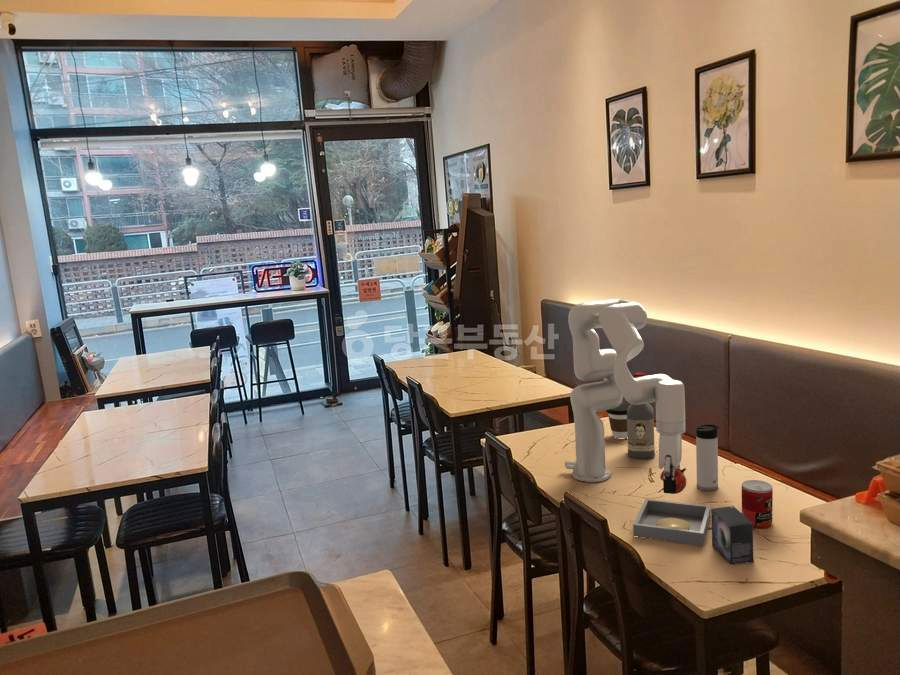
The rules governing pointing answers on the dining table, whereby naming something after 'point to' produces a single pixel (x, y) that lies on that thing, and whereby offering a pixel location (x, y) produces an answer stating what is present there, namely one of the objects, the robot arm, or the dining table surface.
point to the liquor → (640, 429)
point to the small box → (732, 535)
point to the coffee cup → (618, 420)
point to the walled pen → (673, 521)
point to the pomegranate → (677, 480)
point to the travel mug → (707, 457)
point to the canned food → (757, 502)
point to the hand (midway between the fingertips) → (672, 487)
